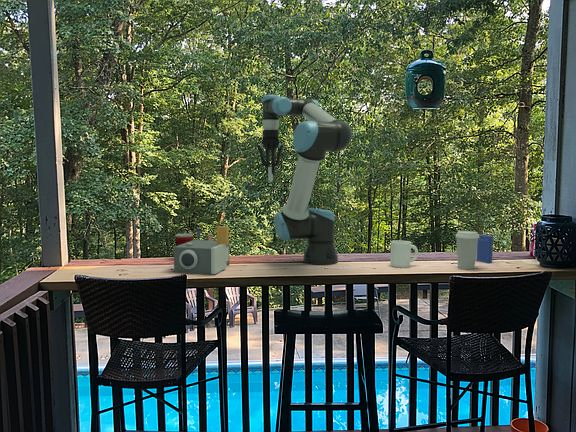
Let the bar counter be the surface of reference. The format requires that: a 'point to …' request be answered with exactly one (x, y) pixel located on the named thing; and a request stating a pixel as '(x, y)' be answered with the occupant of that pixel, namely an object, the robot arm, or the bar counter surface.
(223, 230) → the door
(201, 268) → the camera housing
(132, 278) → the bar counter surface
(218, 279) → the bar counter surface
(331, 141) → the robot arm
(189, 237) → the canned food
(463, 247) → the coffee cup
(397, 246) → the mug
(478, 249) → the walkman
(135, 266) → the bar counter surface
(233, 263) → the bar counter surface
